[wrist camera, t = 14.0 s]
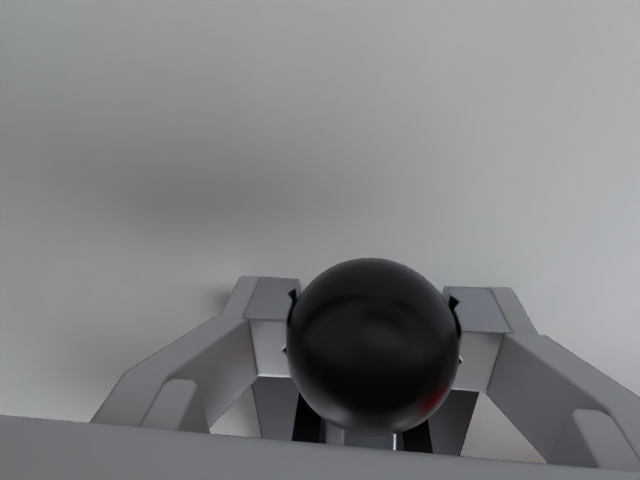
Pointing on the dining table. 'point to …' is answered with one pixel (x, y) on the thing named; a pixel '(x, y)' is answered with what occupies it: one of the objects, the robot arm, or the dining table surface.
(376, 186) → the dining table surface
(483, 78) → the dining table surface
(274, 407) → the lever bracket
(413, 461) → the robot arm
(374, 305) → the lever handle
